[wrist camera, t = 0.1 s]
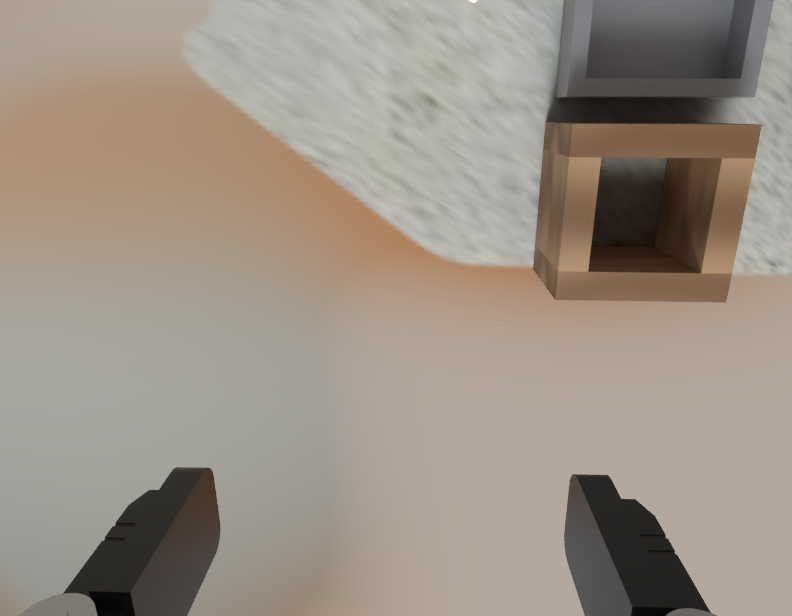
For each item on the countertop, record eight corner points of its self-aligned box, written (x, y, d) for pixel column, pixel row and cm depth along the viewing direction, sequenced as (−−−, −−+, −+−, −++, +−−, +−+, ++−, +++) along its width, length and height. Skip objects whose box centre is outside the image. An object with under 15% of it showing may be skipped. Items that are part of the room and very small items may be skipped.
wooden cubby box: (545, 121, 37) (572, 123, 31) (700, 122, 37) (761, 124, 30) (533, 269, 41) (555, 299, 34) (675, 271, 40) (725, 302, 34)
